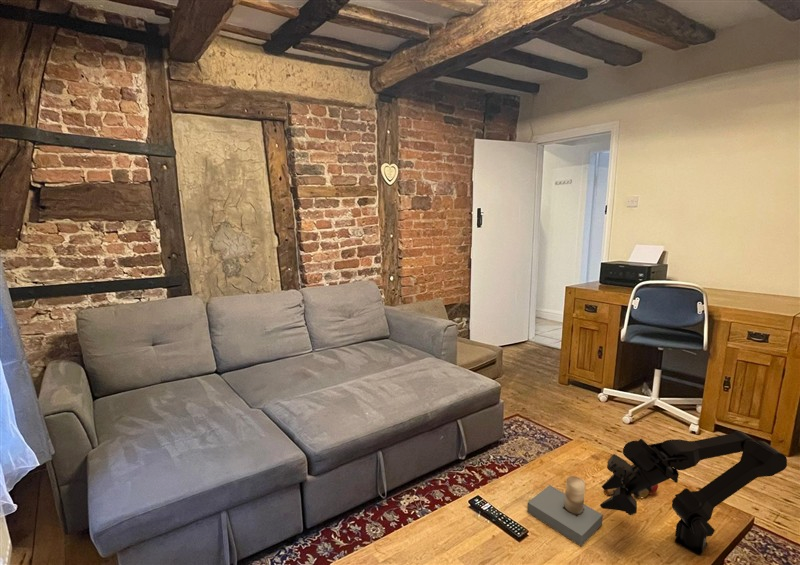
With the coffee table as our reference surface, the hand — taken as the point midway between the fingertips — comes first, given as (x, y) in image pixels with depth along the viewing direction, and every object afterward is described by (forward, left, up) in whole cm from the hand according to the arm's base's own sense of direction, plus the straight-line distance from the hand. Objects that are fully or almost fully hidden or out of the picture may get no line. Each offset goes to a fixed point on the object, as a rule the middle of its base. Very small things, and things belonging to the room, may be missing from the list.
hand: (601, 497), depth 126 cm
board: (+9, +5, -10) cm, 14 cm away
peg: (+7, +3, -10) cm, 12 cm away
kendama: (0, -24, -11) cm, 26 cm away
